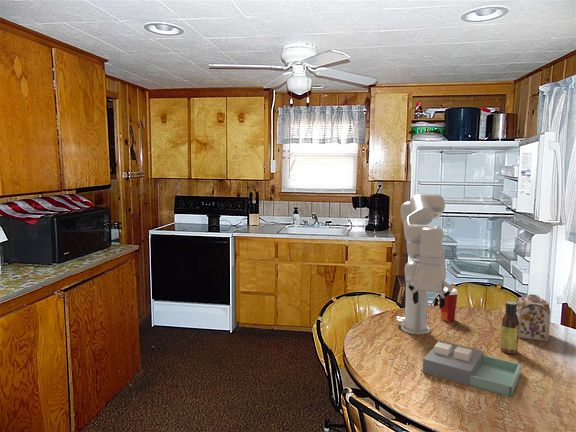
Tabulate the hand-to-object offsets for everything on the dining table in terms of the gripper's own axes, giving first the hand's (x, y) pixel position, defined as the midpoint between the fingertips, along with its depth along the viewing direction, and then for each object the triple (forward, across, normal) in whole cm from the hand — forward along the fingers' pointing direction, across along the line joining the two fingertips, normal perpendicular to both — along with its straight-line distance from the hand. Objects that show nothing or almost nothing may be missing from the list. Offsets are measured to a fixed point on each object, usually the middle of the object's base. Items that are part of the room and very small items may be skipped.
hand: (428, 305), depth 160 cm
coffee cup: (+20, -6, +50) cm, 54 cm away
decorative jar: (+21, +29, +52) cm, 63 cm away
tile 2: (+16, +13, 0) cm, 21 cm away
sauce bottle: (+21, +24, +28) cm, 42 cm away
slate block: (+22, +10, 0) cm, 24 cm away
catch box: (+22, +24, 0) cm, 33 cm away
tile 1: (+16, +6, 0) cm, 18 cm away
